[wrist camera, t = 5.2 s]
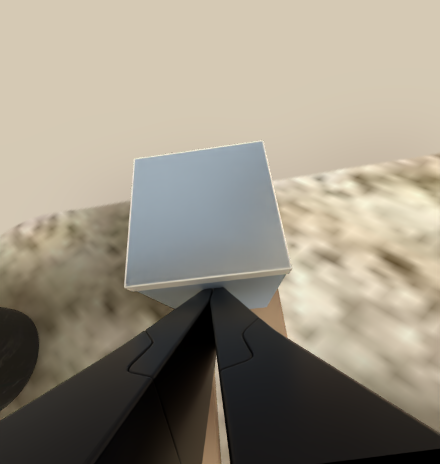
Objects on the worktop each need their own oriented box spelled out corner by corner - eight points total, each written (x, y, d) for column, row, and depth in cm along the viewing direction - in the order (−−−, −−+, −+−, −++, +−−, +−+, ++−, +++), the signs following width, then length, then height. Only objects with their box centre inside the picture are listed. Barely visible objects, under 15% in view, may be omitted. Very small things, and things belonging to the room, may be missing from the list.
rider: (265, 311, 17) (292, 268, 7) (193, 318, 17) (123, 288, 7) (254, 243, 19) (263, 140, 9) (190, 251, 19) (133, 158, 10)
